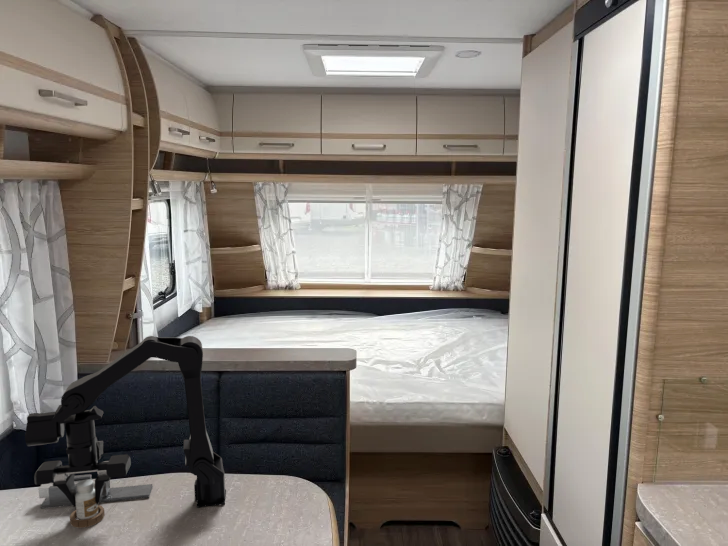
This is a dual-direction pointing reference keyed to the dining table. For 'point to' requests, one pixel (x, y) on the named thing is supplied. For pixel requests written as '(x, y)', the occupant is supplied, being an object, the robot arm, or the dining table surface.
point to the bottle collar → (87, 522)
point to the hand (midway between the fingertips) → (87, 504)
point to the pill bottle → (86, 500)
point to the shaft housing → (114, 494)
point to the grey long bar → (44, 487)
